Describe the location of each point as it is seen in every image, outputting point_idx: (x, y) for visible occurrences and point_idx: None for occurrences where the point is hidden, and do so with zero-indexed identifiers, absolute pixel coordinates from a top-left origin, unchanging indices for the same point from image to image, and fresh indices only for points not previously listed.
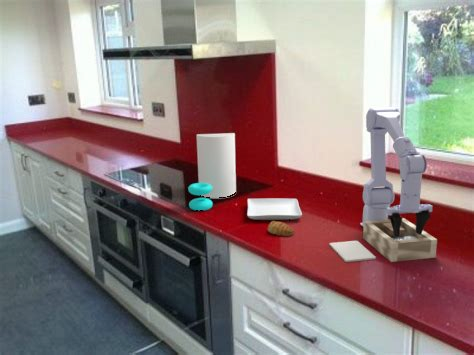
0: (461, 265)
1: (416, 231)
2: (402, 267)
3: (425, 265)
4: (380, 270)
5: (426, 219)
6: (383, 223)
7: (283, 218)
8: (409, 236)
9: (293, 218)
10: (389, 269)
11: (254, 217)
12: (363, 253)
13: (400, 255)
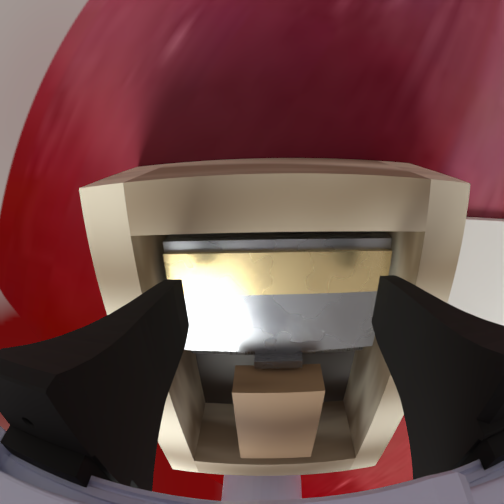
0: (72, 68)
1: (186, 326)
2: (384, 87)
3: (246, 75)
4: (482, 102)
5: (61, 346)
6: (304, 456)
7: None
8: (213, 345)
9: None
10: (448, 93)
11: None
12: (473, 270)
13: (370, 163)
